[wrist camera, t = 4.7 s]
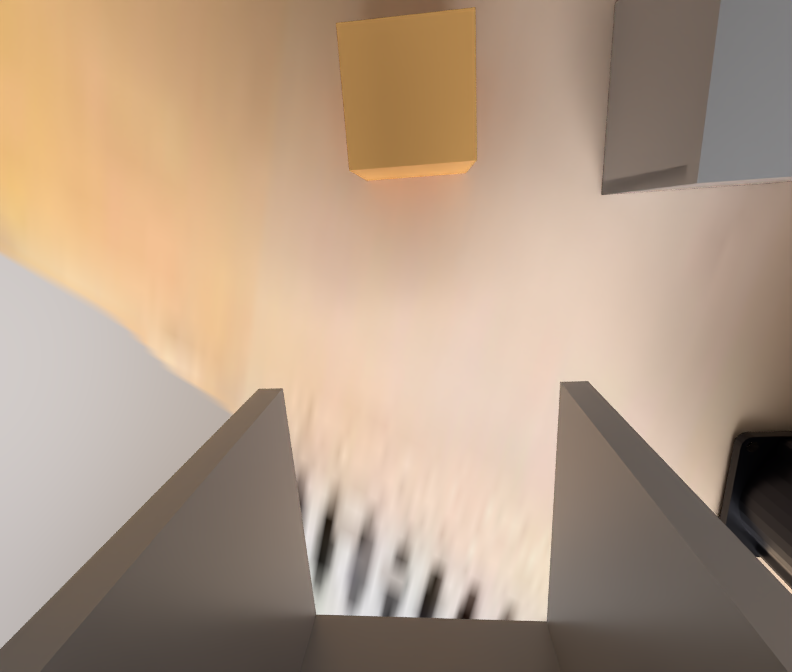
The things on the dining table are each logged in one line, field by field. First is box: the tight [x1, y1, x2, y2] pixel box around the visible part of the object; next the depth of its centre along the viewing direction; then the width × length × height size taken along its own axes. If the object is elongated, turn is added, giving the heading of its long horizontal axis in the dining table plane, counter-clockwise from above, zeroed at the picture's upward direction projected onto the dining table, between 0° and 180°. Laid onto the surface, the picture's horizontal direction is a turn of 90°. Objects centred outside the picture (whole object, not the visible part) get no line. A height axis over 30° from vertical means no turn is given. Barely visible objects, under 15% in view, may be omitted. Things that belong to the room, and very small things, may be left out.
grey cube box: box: [602, 0, 792, 195], centre depth 12 cm, size 6×6×6 cm
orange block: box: [336, 7, 477, 181], centre depth 14 cm, size 4×4×4 cm
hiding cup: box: [0, 381, 792, 672], centre depth 6 cm, size 6×6×6 cm
